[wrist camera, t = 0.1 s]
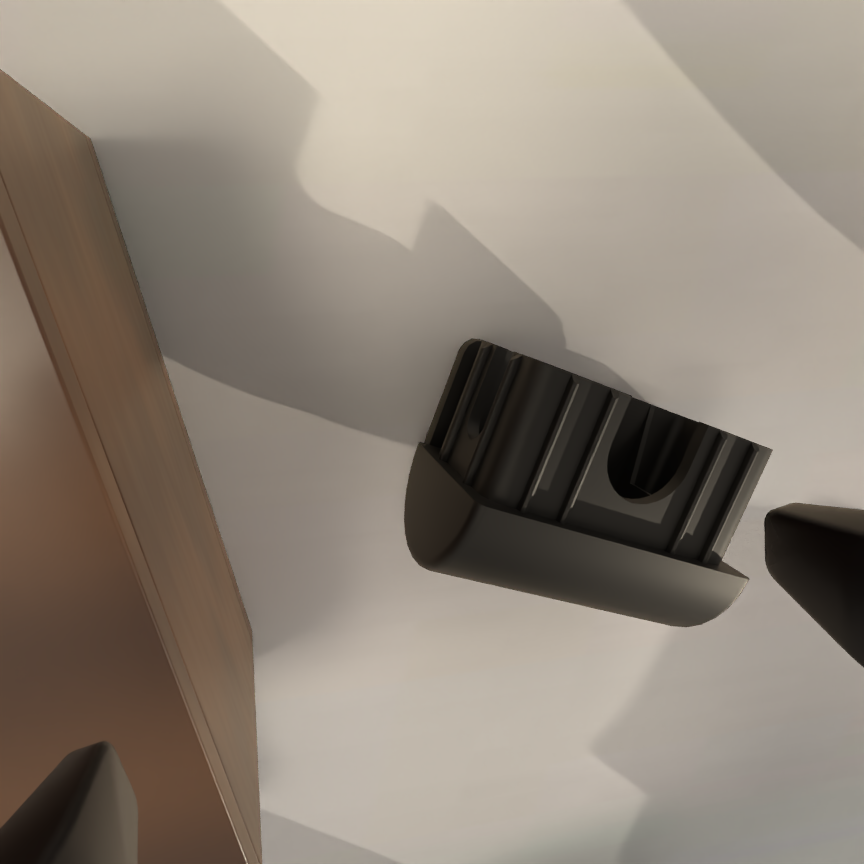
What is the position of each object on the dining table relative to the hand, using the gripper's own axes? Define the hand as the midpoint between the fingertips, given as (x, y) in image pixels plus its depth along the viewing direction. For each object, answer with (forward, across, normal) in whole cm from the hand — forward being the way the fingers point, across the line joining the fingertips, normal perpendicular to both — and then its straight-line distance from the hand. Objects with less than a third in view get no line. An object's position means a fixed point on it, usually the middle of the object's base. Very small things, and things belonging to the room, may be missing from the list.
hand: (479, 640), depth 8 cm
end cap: (+15, -7, +4) cm, 17 cm away
